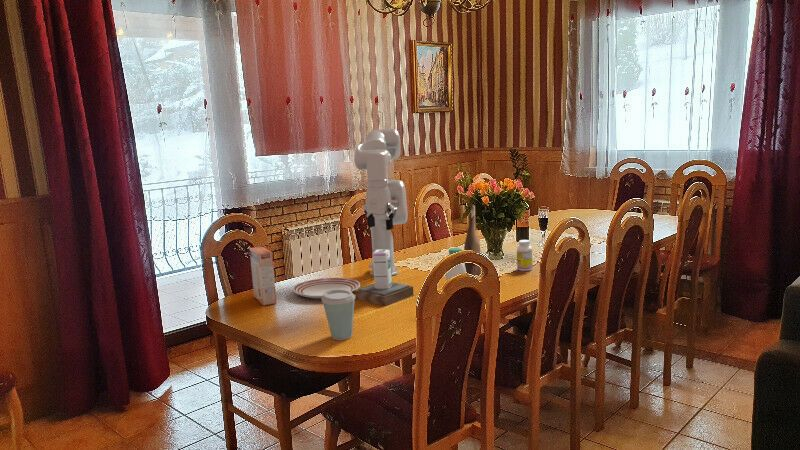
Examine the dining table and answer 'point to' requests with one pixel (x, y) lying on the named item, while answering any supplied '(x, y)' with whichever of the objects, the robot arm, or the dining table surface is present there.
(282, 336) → the dining table surface
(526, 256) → the supplement bottle
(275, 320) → the dining table surface
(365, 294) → the podium
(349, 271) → the dining table surface
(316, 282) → the dinner plate
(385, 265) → the syrup box
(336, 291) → the disposable coffee cup
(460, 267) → the milk bottle
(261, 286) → the cracker box
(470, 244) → the grey vase
